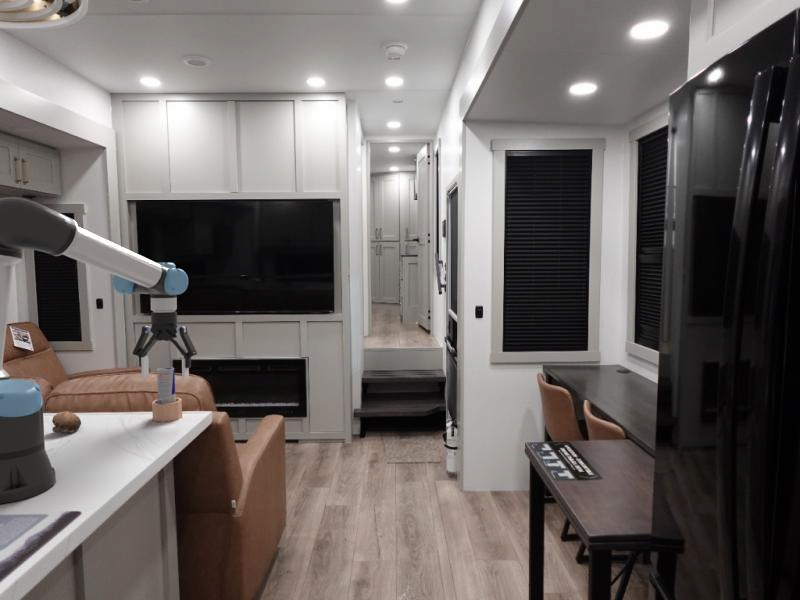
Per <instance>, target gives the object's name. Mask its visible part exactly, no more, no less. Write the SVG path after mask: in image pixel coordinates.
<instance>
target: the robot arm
mask: <svg viewBox="0 0 800 600" xmlns="http://www.w3.org/2000/svg"><path fill="white" fill-rule="evenodd" d="M24 250H31V251H38V252H43V253H46V254H48V255H51V256H54V257H59V256H62V255H63V256H65V257H67V258H70V259H73V260H76V261H78V262H81V263H83V264H86V265H88V266H91V267H93V268H97V269H99V270H101V271H104V272H106V273H109V274H111V275H112V286H113V288H114V290H115V291H116V292H117V293H119V294H121V295H134V294H135V295H137V294H139V295H140V294H141V295H143V294H144V295H150V310H151V311H152V312H151V313H150V322H151V326H150V325H143V326H142V327H141V333H140V336H139V338H138V340H137V342H136V344H135V347H134V348H133V350H132V355H133V356H136V357H138V366H139V367H140V369H141V371H140V372H141V378H142V379H145V378H147V377H150V375H149V374H150V373H149V372H150V369H149V368H150V367H149V365H150V364H149V355H147V354H149V352H150V350H152V348H153V347H154V346H155V345H156V343H157V342H158V341H166V342H168V341H169V342H170V343H172V344H173V345H174V346H175V348H176V349H177V350H178V351H179V352H180V354H181V355H182V358H181V372H182V373H181V378H182V380H186V379H188V378H189V377H190V371H189V369H190V368H191V367H192V357H194V356H196V355H198V351H197V350H196V348H195V345H194V344H193V341H192V340H191V337H190V335H189V334H188V328H187V326H184V325H183V326H179V327H178V325H177V324H178V312H177V311H176V310H177V309H178V308H177V307H178V305H177V303H178V302H177V299H178V298H177V295H182V294H183V293H184V292H186V290H187V289H188V286H189V277H188V274H187V273H186V272H185V271H184V270H183V269H181V268H176V264H175V263H174V262H156V261H154V260H151V259H149V258H147V257H145V256H143V255H141V254H138V253H136V252H134V251H132V250H130V249H127V248H126V247H123V246H122V245H119V244H117V243H114V242H113V241H110V240H108V239H106V238H103V237H101V236H99V235H98V234H96V233H93V232H91V231H89V230H87V229H84V228H82V227H81V226H78V223H77V222H76V220H75V219H74V218H71V217H68V216H67V215H65V214H62V213H60V212H58V211H56V210H54V209H52V208H50V207H48V206H45V205H43V204H40V203H38V202H36V201H34V200H30V199H27V198H23V197H15V196H10V197H9V196H8V197H3V198H2V197H0V504H1V505H2V504H9V503H12V502H17V501H22V500H26V499H28V498H31V497H34V496H37V495H39V494H41V493H42V494H43V493H44V492H46V491H48V490H49V489H51V488H52V487H54V485H55V484H56V482H57V478H56V477H57V476H56V474H57V473H56V470H55V468H54V466H52V463H51V461H50V458H49V455H48V453H47V451H46V447H45V446H46V444H45V424H44V423H45V421H44V398H43V393H42V392H43V391H42V388H41V387H40V385H39V384H38V383H36V382H34V381H31V380H26V379H13V378H12V379H10V374H9V373H8V372H7V371H6V369H4V367H3V363H4V354H5V344H6V336H7V333H6V332H7V328H8V317H9V316H8V315H9V306H10V299H11V289H12V280H13V269H14V266H16V265H17V264H19V263H20V262H22V259H23V253H24V252H23V251H24ZM150 333H152V335H151V336H150V338H149V335H150ZM177 333H178V334H179V335H178V334H177ZM179 336H180V337H179ZM148 338H149V340H148ZM180 339H181V340H182V341H181V340H180ZM147 340H148V342H146V341H147Z"/></svg>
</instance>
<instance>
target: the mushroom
mask: <svg viewBox="0 0 800 600" xmlns="http://www.w3.org/2000/svg"><path fill="white" fill-rule="evenodd" d="M51 421H52V423H53V427H52V432H54V433H58V434H59V433H60V434H61V433H63V432H66V433H76V432H77V431H78V430H79V429H80V428H81V425H82V421H81V419H80V417H79V415H77V414H75V413H73V412H70V411H69V410H67V411H60V412H58V413H56V414H55V415H53V417H52V420H51Z"/></svg>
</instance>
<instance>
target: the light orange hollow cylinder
mask: <svg viewBox="0 0 800 600" xmlns="http://www.w3.org/2000/svg"><path fill="white" fill-rule="evenodd" d="M175 399H176V402H173V403H168V404H158V398H157V399H154V400H152V403H151V407H152V409H151V410H152V411H151V412H152V421H153V420H154V421H153V422H156V421H161V422H160V423H164V422H165V421H167V422H173V421H176V419H177V420H180V419H181V418H183V400H182V399H183V398H180V397H175ZM179 418H180V419H179ZM172 420H173V421H172Z"/></svg>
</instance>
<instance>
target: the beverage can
mask: <svg viewBox="0 0 800 600" xmlns="http://www.w3.org/2000/svg"><path fill="white" fill-rule="evenodd" d="M175 374H176V372H175V368H174V367H170V366H169V367H166V366H165V367H160V368H157V369H156V376H157V380H156V381H157V399H158V404H168V403H173V402H176V399H175V398H176V375H175Z"/></svg>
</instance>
